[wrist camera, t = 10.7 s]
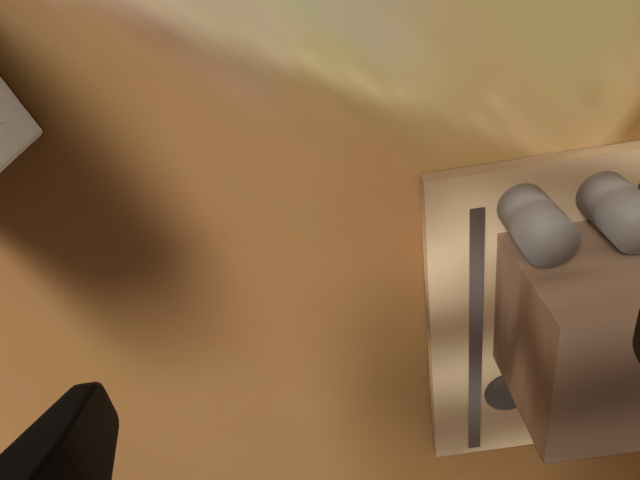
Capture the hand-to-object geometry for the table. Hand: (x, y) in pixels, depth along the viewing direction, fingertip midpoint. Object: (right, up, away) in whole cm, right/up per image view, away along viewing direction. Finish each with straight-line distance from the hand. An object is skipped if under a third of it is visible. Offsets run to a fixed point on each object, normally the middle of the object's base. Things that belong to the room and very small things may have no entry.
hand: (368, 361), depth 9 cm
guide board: (+10, -2, +17) cm, 20 cm away
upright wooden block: (+10, 0, +15) cm, 18 cm away
